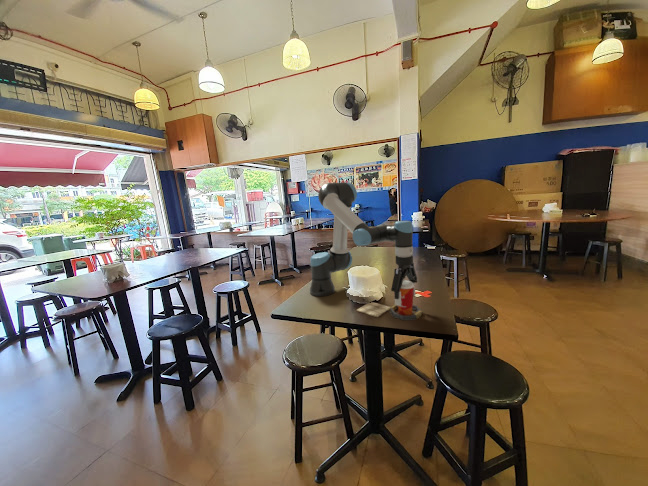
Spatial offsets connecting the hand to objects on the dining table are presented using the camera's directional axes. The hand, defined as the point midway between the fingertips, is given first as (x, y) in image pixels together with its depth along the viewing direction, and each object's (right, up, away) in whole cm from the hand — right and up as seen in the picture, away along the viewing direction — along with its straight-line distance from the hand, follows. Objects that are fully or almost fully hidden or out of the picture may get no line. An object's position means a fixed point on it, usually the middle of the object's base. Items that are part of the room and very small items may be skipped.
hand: (405, 300), depth 115 cm
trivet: (-13, -6, +8) cm, 16 cm away
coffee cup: (0, -7, +1) cm, 7 cm away
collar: (0, -6, +1) cm, 7 cm away
